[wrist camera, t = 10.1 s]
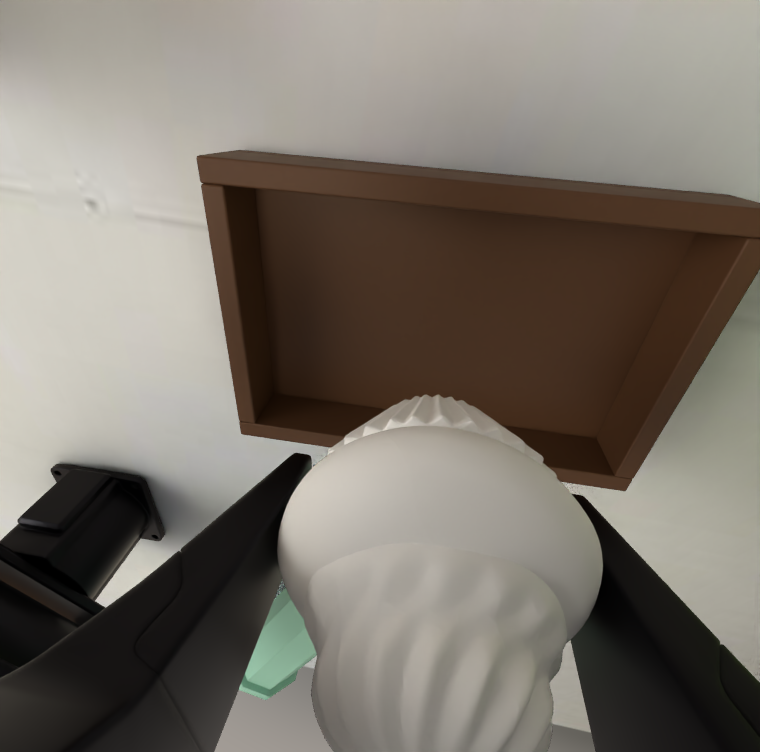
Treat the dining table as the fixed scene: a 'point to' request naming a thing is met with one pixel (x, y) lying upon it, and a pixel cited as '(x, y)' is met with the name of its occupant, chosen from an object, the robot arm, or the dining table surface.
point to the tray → (470, 299)
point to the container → (278, 650)
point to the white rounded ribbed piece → (437, 582)
